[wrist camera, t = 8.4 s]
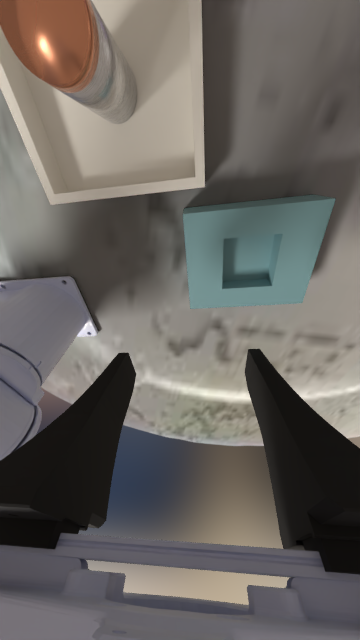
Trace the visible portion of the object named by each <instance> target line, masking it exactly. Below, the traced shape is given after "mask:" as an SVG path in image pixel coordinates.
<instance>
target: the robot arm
mask: <svg viewBox="0 0 360 640" xmlns="http://www.w3.org/2000/svg"><path fill="white" fill-rule="evenodd" d="M63 280H65V281H66V283H65V282H64V281H63ZM4 285H5V286H6V287H5V286H4ZM90 332H91V333H90ZM97 334H98V330H97V328H96V326H95V324H94V322H93V319H92V317H91V315H90V313H89V311H88V308H87V306H86V304H85V302H84V300H83V298H82V295H81V293H80V291H79V289H78V287H77V284H76V282H75V280H74V279H73V278H72V277H70V276H63V277H50V278H36V279H23V280H9V281H0V640H360V448H358V447H357V446H356V445H354V444H353V443H352V442H351V441H349V440H348V439H347V438H346V437H345V436H343V435H342V434H341V433H340V432H338V431H337V430H336V429H335V428H334V427H332V426H331V425H330V424H329V423H328V422H326V421H325V420H324V419H323V418H322V417H321V416H320V415H319V414H317V413H316V412H315V411H314V410H313V409H312V408H311V407H310V406H309V405H308V404H307V403H306V402H305V401H304V400H303V399H302V398H301V397H300V396H299V395H298V394H297V393H296V392H295V391H294V390H293V389H292V388H291V387H290V386H289V384H288V383H287V382H286V381H285V380H284V379H283V378H282V376H281V375H280V374H279V373H278V372H277V371H276V369H275V368H274V367H273V366H272V364H271V363H270V362H269V361H268V359H267V358H266V357H265V355H264V354H263V353H262V351H261V350H260V349H248V355H247V361H246V367H245V376H246V381H247V387H248V391H249V394H250V397H251V401H252V404H253V407H254V410H255V414H256V417H257V420H258V423H259V427H260V430H261V434H262V438H263V443H264V447H265V452H266V457H267V462H268V467H269V472H270V478H271V483H272V489H273V494H274V499H275V506H276V512H277V518H278V524H279V530H280V536H281V540H282V545H283V548H284V549H276V548H262V547H249V546H234V545H220V544H207V543H192V542H179V541H166V540H152V539H138V538H124V537H111V536H97V535H83V534H78V532H79V530H83V531H86V530H87V528H88V527H91V528H99V527H101V526H102V525H103V524H104V522H105V521H106V516H107V508H108V501H109V494H110V487H111V480H112V474H113V469H114V463H115V458H116V452H117V447H118V443H119V438H120V433H121V429H122V425H123V422H124V419H125V416H126V412H127V409H128V406H129V403H130V399H131V396H132V393H133V389H134V383H135V377H136V372H135V370H134V367H133V364H132V361H131V359H130V356H129V353H118V355H117V356H116V357H115V358H114V359H113V361H112V362H111V363H110V364H109V365H108V367H107V368H106V369H105V370H104V371H103V372H102V374H101V375H100V376H99V377H98V378H97V379H96V381H95V382H94V383H93V384H92V385H91V386H90V387H89V388H88V389H87V390H86V391H85V392H84V394H83V395H82V396H81V397H80V398H79V399H78V400H77V401H76V402H75V403H74V404H73V405H71V406H70V407H69V408H68V409H67V410H66V411H65V412H64V413H63V414H62V415H60V416H59V417H58V418H57V419H56V420H54V421H53V422H52V423H51V424H50V425H49V426H47V427H46V428H45V429H44V430H43V431H41V432H40V433H38V434H37V435H36V433H37V431H38V429H39V426H40V423H41V418H42V412H41V409H40V407H39V406H38V405H37V404H38V403H39V401H40V400H41V398H42V396H43V395H44V394H45V393H44V392H43V391H42V389H41V385H42V384H43V383H44V381H45V380H46V378H47V377H48V376H49V374H50V373H51V371H52V370H53V369H54V367H55V366H56V364H57V363H58V362H59V360H60V359H61V357H62V356H63V355H64V353H65V352H66V350H67V349H68V348H69V346H70V345H71V343H72V342H73V341H74V339H75V338H76V337H82V336H96V335H97ZM35 435H36V436H35ZM86 560H95V561H107V562H120V563H130V564H143V565H154V566H165V567H177V568H188V569H200V570H212V571H223V572H235V573H246V574H258V575H269V576H280V577H292V578H289V580H288V581H287V586H286V588H275V587H264V586H253V585H248V587H247V592H248V600H249V605H243V604H235V603H227V602H219V601H211V600H202V599H193V598H182V597H173V596H161V595H148V594H136V593H124V592H123V588H124V582H125V577H126V576H125V574H123V573H112V572H102V571H91V570H89V569H88V564H87V561H86Z"/></svg>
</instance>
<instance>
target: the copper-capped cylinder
mask: <svg viewBox="0 0 360 640" xmlns="http://www.w3.org/2000/svg"><path fill="white" fill-rule="evenodd" d="M0 26H1V29H2V31H3V33H4V35H5V37H6V39H7V41H8V43H9V45H10V47H11V48H12V50H13V51H14V53H15V54H16V56H17V57H18V58H19V60H20V61H21V62H22V63H23V65H24V66H25V67H26V68H27V69H28V70H29V71H30V72H31V73H33V74H34V75H35V76H37V77H38V78H40V79H41V80H43V81H44V82H46V83H48V84H49V85H51V86H52V87H54V88H56V89H57V90H59V91H60V92H62V93H64V94H65V95H67V96H68V97H70V98H72V99H73V100H75V101H76V102H78V103H80V104H81V105H83V106H84V107H86V108H88V109H89V110H91V111H92V112H94V113H96V114H97V115H99V116H100V117H102V118H104V119H105V120H107V121H109V122H111V123H114V124H122V123H124V122H126V121H127V120H129V119H130V117H131V116H132V114H133V113H134V110H135V108H136V104H137V84H136V79H135V76H134V73H133V71H132V69H131V67H130V65H129V63H128V61H127V60H126V58H125V56H124V55H123V53H122V51H121V50H120V48H119V46H118V45H117V43H116V41H115V39H114V38H113V36H112V34H111V33H110V31H109V29H108V28H107V26H106V24H105V23H104V21H103V19H102V18H101V16H100V14H99V12H98V11H97V9H96V7H95V6H94V4H93V2H92V1H91V0H0Z"/></svg>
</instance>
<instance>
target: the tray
mask: <svg viewBox="0 0 360 640" xmlns="http://www.w3.org/2000/svg"><path fill="white" fill-rule="evenodd" d="M91 1H92V2H93V4H94V6H95V7H96V9H97V11H98V12H99V14H100V16H101V18H102V19H103V21H104V23H105V24H106V26H107V28H108V29H109V31H110V33H111V34H112V36H113V38H114V39H115V41H116V43H117V45H118V46H119V48H120V50H121V51H122V53H123V55H124V56H125V58H126V60H127V61H128V63H129V65H130V67H131V69H132V71H133V73H134V76H135V79H136V84H137V104H136V108H135V110H134V113H133V114H132V116H131V117H130V119H129V120H127V121H126V122H124V123H122V124H114V123H111V122H109V121H107V120H105V119H104V118H102V117H100V116H99V115H97V114H96V113H94V112H92V111H91V110H89V109H88V108H86V107H84V106H83V105H81V104H80V103H78V102H76V101H75V100H73V99H72V98H70V97H68V96H67V95H65V94H64V93H62V92H60V91H59V90H57V89H56V88H54V87H52V86H51V85H49V84H48V83H46V82H44V81H43V80H41V79H40V78H38V77H37V76H35V75H34V74H33V73H31V72H30V71H29V70H28V69H27V68H26V67H25V66H24V65H23V63H22V62H21V61H20V60H19V58H18V57H17V56H16V54H15V53H14V51H13V50H12V48H11V47H10V45H9V43H8V41H7V39H6V37H5V35H4V33H3V31H2V29H1V26H0V88H1V90H2V92H3V95H4V97H5V99H6V102H7V104H8V106H9V109H10V111H11V113H12V116H13V118H14V120H15V123H16V125H17V127H18V130H19V132H20V134H21V137H22V139H23V141H24V144H25V146H26V148H27V151H28V153H29V155H30V158H31V160H32V162H33V165H34V167H35V169H36V172H37V174H38V176H39V179H40V181H41V183H42V186H43V188H44V190H45V193H46V195H47V197H48V200H49V202H50V204H51V205H54V204H63V203H71V202H80V201H89V200H97V199H106V198H115V197H124V196H132V195H141V194H150V193H158V192H167V191H176V190H184V189H193V188H202V187H205V164H204V109H203V55H202V0H91Z"/></svg>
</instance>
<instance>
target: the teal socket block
mask: <svg viewBox="0 0 360 640" xmlns="http://www.w3.org/2000/svg"><path fill="white" fill-rule="evenodd" d="M335 200H336V198H330V197H324V196H319V195H304V196H294V197H285V198H275V199H266V200H256V201H247V202H237V203H228V204H218V205H209V206H199V207H190V208H184V211H183V223H184V236H185V248H186V261H187V273H188V286H189V298H190V309H197V308H217V307H236V306H256V305H275V304H295V303H302V302H303V299H304V296H305V293H306V289H307V286H308V283H309V280H310V277H311V274H312V271H313V268H314V265H315V262H316V259H317V255H318V252H319V249H320V246H321V243H322V240H323V237H324V234H325V231H326V228H327V225H328V221H329V218H330V215H331V212H332V209H333V206H334V203H335Z"/></svg>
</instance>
